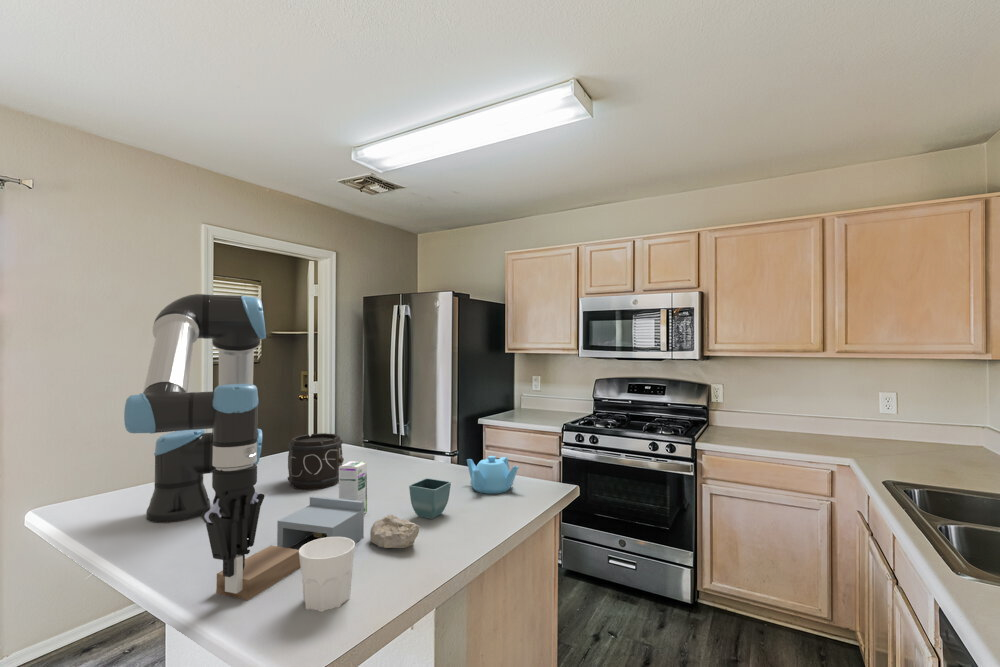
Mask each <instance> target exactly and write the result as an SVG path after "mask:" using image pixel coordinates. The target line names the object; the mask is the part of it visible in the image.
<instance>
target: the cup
mask: <svg viewBox="0 0 1000 667" xmlns="http://www.w3.org/2000/svg"><path fill="white" fill-rule="evenodd" d="M355 547H356V543H355V542H354V541H353V540H351V539H349V538H345V537H327V536H326V537H322V538H317V539H313V540H311V541H308V542H307V543H305V544H303V545H301V547H299V549H298V550H299V558H300V567H301V568H300V572H301V578H302V579H301V580H302V597H303V602H304V603H305V610H315V611H319V612H321V613H322V612H324V611H327V610H331V609H335V608H341V605H342V604H344V603H345V602H346V601H348V600H350V599H351V592H352V579H353V570H354V569H353V566H354V558H355Z"/></svg>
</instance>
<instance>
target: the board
mask: <svg viewBox="0 0 1000 667" xmlns="http://www.w3.org/2000/svg"><path fill="white" fill-rule="evenodd" d="M299 569H301V567H300V558H299V549H296V548H295V549H294V548H291V547H290V548H284V547H278V546H277V545H269V546H267V547H265V548H263V549H261V550H260V551H259V550H258V551H257V552H255V553H254V554H252V555H250V556H248V557H246V558H245V567H244V569H243V587H242V590H241V591H240V592H238V593H237V594H236V593H230V592H225V576H223V570H221V571H219V572H217V573H216V589H215V590H216V591H215V592H216V594H217V595H223V596H228V597H232V598H237V599H242V600H247V601H250V600H252V599H254V598H255V597H256V596H258V595H260V594H261V593H263V592H265V591H266V590H268V589H269V588H271V587H273V585H275V584H277V583H279V582H280V581H282V580H284V579H285V578H287V577H288V576H290V575H292V574H293V573H294V572H296V571H298V570H299Z"/></svg>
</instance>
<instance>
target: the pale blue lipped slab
mask: <svg viewBox="0 0 1000 667" xmlns="http://www.w3.org/2000/svg"><path fill="white" fill-rule="evenodd" d="M364 517H365V514H364V501H357V500H348V499H339V497H338V498H337V497H336V498H335V497H327V496H326V497H325V496H318V495H311V496H309V505H307V506H305V507H303V508H301V509H299V510H297V511H295V512H292V513H290V514H288V515H287V516H285V517H283V518H281V519H278V520H277V526H276V527H277V530H276V534H277V535H276V536H277V537H276V538H277V539H276V542H277V544H276V546H278V547H284V548H290V549H291V548H292V547H294V546H295V545H296V544H299V543H300V542H301V541H303V540H305V539H307V538H308V537H310V536H312V535H313V537H314V538H318V539H320V538H325V536H326V537H345V538H349V539H351V540H353V541H354V542H355V544H357V543H358V542H359V541H361V540H362V539H364V534H365V533H364V532H365V531H364V529H365V528H364V527H365V526H364V519H365V518H364Z"/></svg>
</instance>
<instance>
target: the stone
mask: <svg viewBox="0 0 1000 667" xmlns="http://www.w3.org/2000/svg"><path fill="white" fill-rule="evenodd" d="M370 528H371V529H370V541H371V543H373V544H374V545H377V546H378V547H379V548H386V549H389V548H392V549H393V548H394V549H395V548H396V549H397V548H398V549H405V548H407V547H408V548H409V547H411V546H413V545H414V544H415V541H416V539H417V537H418V536H419V532H420V528H421V527H420V525H419V524H416V523H414V522H410V521H409V520H408V519H405V518H403V519H401V518H400V517H398V516H396V515H393V514H387V515H386V516H383V518H382V519H381V518H380V519H377V520H375V521H374V522H373V524H372V526H371V527H370Z"/></svg>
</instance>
